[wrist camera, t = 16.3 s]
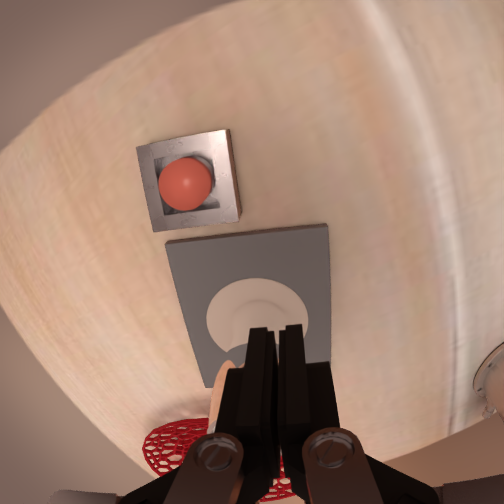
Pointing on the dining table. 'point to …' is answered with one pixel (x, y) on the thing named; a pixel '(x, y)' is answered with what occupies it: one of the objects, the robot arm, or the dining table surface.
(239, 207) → the button housing
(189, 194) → the button
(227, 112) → the dining table surface
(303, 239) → the grey rectangular board
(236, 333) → the beer glass
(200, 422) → the bowl
